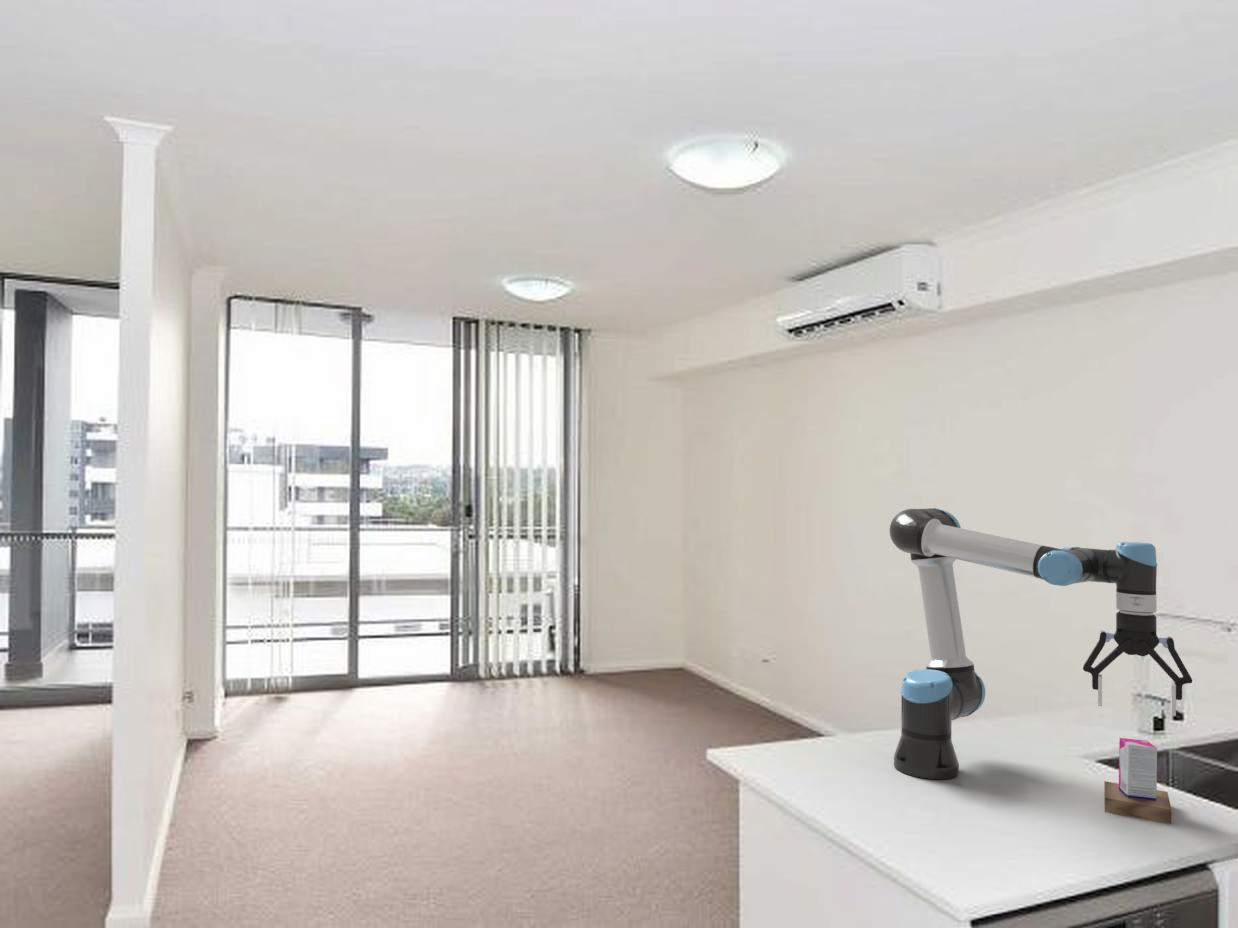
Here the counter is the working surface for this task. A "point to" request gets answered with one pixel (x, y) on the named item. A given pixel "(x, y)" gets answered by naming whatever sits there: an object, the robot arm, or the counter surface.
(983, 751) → the counter surface
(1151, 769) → the supplement box
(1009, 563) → the robot arm
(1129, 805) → the wooden block
